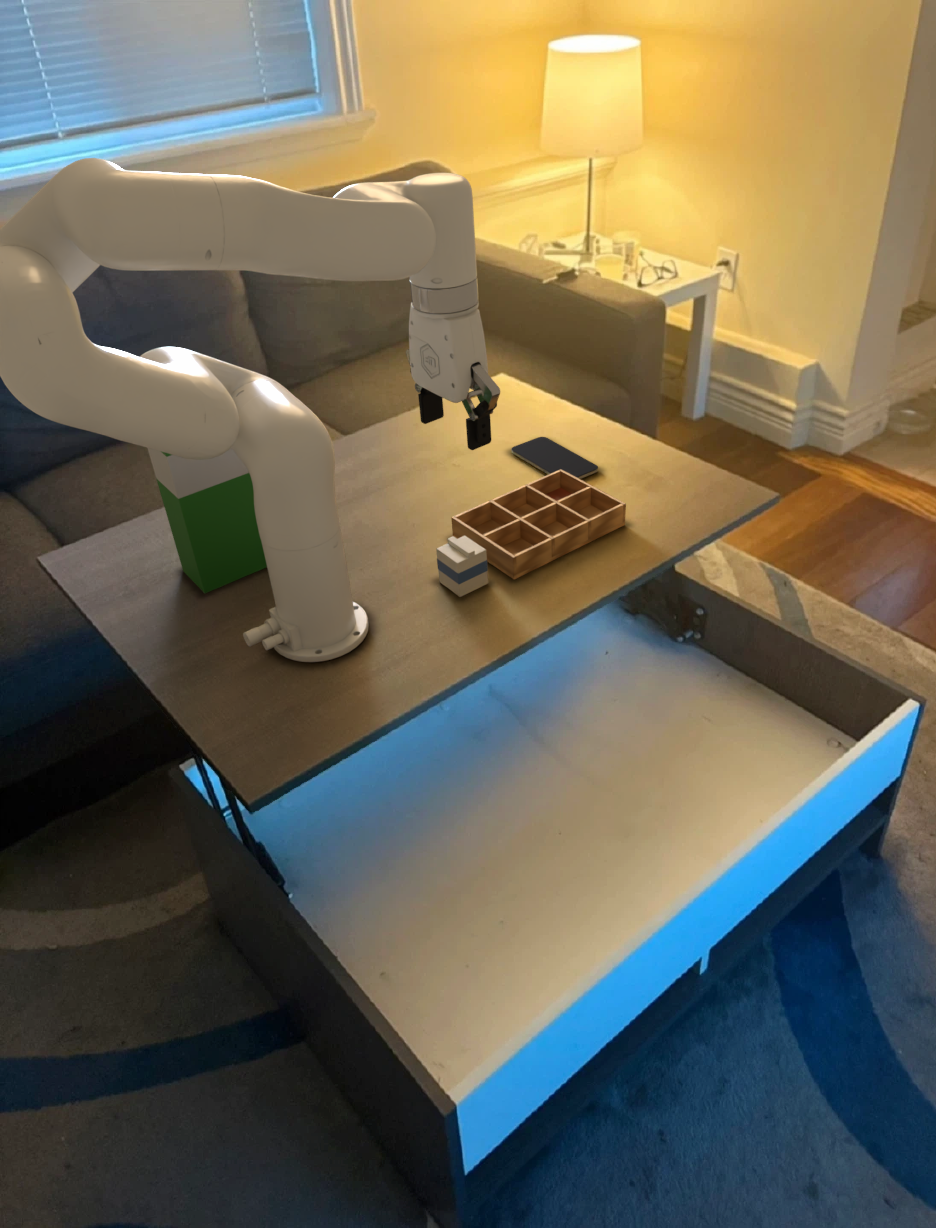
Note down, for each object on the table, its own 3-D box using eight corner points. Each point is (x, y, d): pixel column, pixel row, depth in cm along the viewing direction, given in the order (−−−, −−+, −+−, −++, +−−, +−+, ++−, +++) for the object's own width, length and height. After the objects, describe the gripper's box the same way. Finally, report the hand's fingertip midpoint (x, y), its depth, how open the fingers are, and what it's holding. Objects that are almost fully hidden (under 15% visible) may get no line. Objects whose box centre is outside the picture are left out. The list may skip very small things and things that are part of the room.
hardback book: (291, 526, 144) (261, 376, 129) (316, 546, 139) (287, 392, 124) (183, 570, 136) (138, 415, 121) (204, 593, 131) (160, 434, 116)
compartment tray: (514, 579, 129) (513, 557, 127) (452, 538, 138) (451, 517, 136) (625, 524, 139) (626, 503, 136) (560, 489, 148) (560, 468, 146)
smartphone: (543, 435, 161) (601, 467, 151) (543, 438, 162) (601, 471, 151) (508, 448, 158) (565, 481, 148) (508, 452, 159) (565, 485, 148)
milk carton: (459, 597, 127) (456, 559, 123) (438, 581, 130) (435, 543, 126) (488, 583, 129) (486, 545, 125) (467, 568, 132) (464, 530, 128)
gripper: (375, 285, 111) (391, 420, 121) (464, 322, 100) (474, 467, 110) (427, 270, 114) (439, 402, 125) (519, 304, 103) (523, 446, 113)
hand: (455, 432), depth 117 cm, fingers open, 9 cm apart
